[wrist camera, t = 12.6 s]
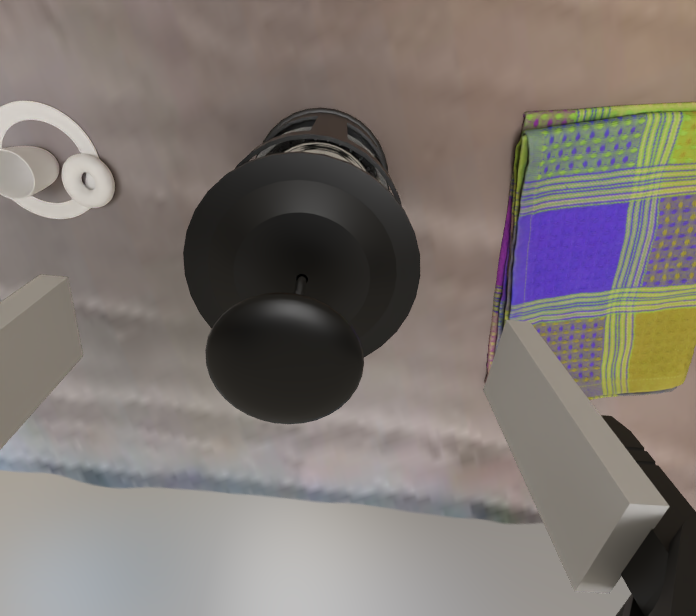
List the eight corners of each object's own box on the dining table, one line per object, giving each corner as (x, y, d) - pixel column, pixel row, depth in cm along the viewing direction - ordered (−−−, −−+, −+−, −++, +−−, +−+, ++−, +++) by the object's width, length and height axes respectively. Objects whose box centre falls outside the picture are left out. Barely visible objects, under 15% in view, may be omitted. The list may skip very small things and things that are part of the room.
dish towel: (771, 95, 30) (809, 97, 27) (669, 384, 41) (690, 404, 39) (510, 111, 30) (524, 115, 28) (480, 394, 42) (489, 414, 39)
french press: (265, 81, 29) (78, 110, 9) (405, 114, 30) (536, 208, 10) (247, 249, 34) (106, 510, 14) (366, 272, 35) (396, 546, 15)
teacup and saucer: (137, 173, 32) (111, 186, 28) (77, 245, 34) (46, 265, 31) (23, 72, 29) (-23, 72, 25) (-34, 159, 31) (-83, 170, 28)
